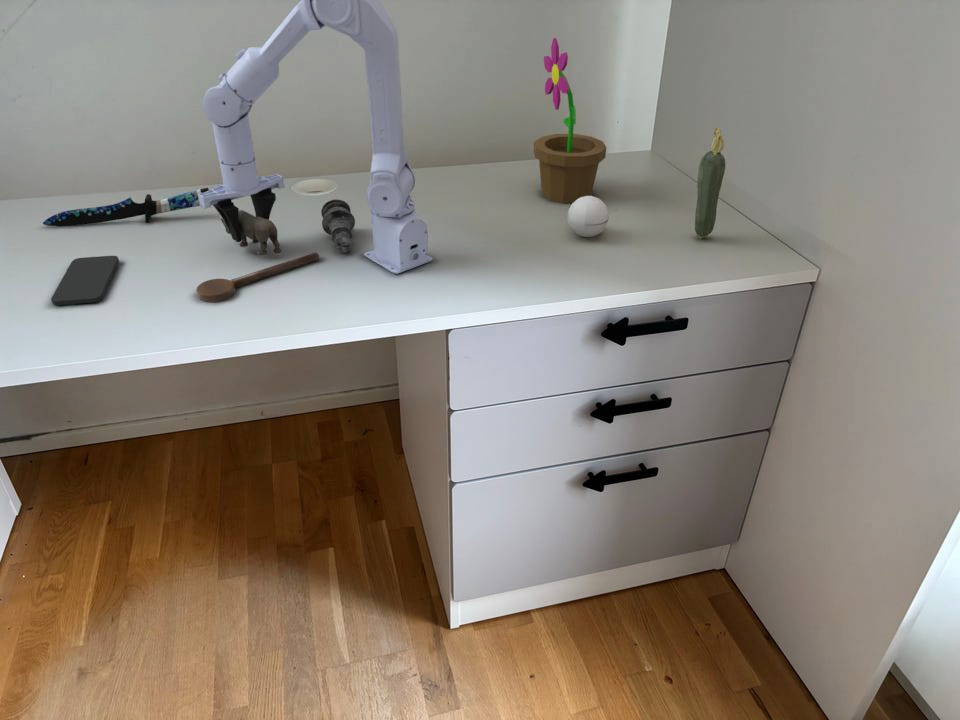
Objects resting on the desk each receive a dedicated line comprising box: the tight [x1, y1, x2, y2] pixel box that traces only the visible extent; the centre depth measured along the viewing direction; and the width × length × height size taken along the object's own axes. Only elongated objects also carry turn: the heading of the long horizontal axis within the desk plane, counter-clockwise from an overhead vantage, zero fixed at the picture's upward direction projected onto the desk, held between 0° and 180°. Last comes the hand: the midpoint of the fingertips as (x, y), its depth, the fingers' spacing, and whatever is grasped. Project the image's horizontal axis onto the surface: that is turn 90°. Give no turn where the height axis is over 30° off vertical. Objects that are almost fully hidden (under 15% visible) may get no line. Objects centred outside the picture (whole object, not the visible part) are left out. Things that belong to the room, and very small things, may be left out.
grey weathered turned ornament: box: [320, 198, 356, 254], centre depth 135 cm, size 6×6×12 cm
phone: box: [50, 255, 120, 306], centre depth 123 cm, size 7×1×15 cm
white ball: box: [567, 195, 617, 238], centre depth 138 cm, size 10×7×7 cm
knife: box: [42, 187, 210, 227], centre depth 143 cm, size 31×3×4 cm, turn 98°
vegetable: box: [694, 127, 726, 240], centre depth 133 cm, size 4×4×20 cm
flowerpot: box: [533, 37, 607, 204], centre depth 149 cm, size 14×14×30 cm
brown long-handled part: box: [196, 252, 320, 303], centre depth 125 cm, size 22×6×1 cm, turn 132°
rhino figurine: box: [220, 209, 282, 256], centre depth 132 cm, size 4×14×6 cm, turn 54°
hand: (250, 236), depth 133 cm, fingers closed on rhino figurine, 4 cm apart
